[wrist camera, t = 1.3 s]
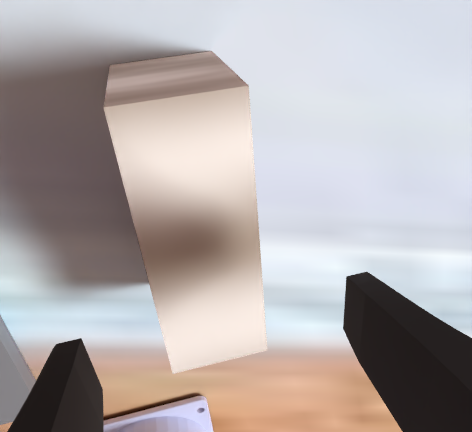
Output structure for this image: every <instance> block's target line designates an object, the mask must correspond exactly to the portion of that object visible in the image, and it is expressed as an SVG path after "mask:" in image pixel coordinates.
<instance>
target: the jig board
mask: <svg viewBox="0 0 472 432" xmlns="http://www.w3.org/2000/svg"><path fill="white" fill-rule="evenodd" d="M35 382H36V380H35V378H34V376H33V375H32V373H31V371H30V369H29V367H28V365H27V364H26V362H25V360H24V358H23V356H22V354H21V353H20V351H19V349H18V347H17V345H16V343H15V342H14V340H13V338H12V336H11V334H10V332H9V331H8V329H7V327H6V325H5V323H4V321H3V320H2V318H1V316H0V425H2V424H6V423H9V422H13V421H14V420H15V418H16V416H17V414H18V413H19V411H20V409H21V407H22V406H23V404H24V402H25V400H26V399H27V397H28V395H29V393H30V391H31V390H32V388H33V386H34V384H35Z"/></svg>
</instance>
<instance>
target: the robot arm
mask: <svg viewBox="0 0 472 432" xmlns="http://www.w3.org/2000/svg"><path fill="white" fill-rule="evenodd" d="M343 329H344V331H345V333H346V336H347V338H348V340H349V342H350V344H351V347H352V349H353V351H354V353H355V355H356V357H357V359H358V361H359V363H360V364H361V366H362V368H363V369H364V371H365V372H366V374H367V376H368V377H369V379H370V380H371V382H372V384H373V385H374V387H375V389H376V390H377V392H378V393H379V395H380V396H381V398H382V400H383V401H384V403H385V404H386V406H387V408H388V409H389V411H390V412H391V414H392V415H393V417H394V419H395V420H396V422H397V423H398V425H399V427H400V428H401V430H402V431H403V432H472V338H470V337H469V336H467V335H465V334H463V333H462V332H460V331H458V330H456V329H455V328H453V327H451V326H450V325H448V324H446V323H445V322H443V321H441V320H440V319H438V318H436V317H435V316H433V315H432V314H430V313H428V312H427V311H425V310H424V309H422V308H421V307H419V306H418V305H416V304H415V303H413V302H411V301H410V300H408V299H407V298H405V297H404V296H402V295H401V294H399V293H398V292H396V291H395V290H394V289H392V288H391V287H389V286H388V285H386V284H385V283H383V282H382V281H380V280H379V279H377V278H376V277H374V276H373V275H371V274H370V273H368V272H364V273H360V274H355V275H351V276H347V278H346V293H345V309H344V325H343ZM8 432H213V427H212V423H211V418H210V413H209V408H208V404H207V399H206V397H204V396H196V397H192V398H188V399H185V400H181V401H177V402H173V403H169V404H166V405H162V406H158V407H154V408H150V409H146V410H143V411H139V412H135V413H131V414H127V415H124V416H120V417H116V418H112V419H108V420H105V421H103V389H102V387H101V384H100V382H99V380H98V377H97V375H96V372H95V370H94V368H93V365H92V363H91V360H90V358H89V356H88V353H87V351H86V349H85V346H84V344H83V341H82V339H76V340H72V341H68V342H63V343H59V344H56V345H55V347H54V348H53V350H52V352H51V354H50V356H49V358H48V359H47V361H46V363H45V365H44V367H43V369H42V371H41V373H40V375H39V377H38V378H37V380H36V382H35V384H34V386H33V388H32V390H31V391H30V393H29V395H28V397H27V399H26V400H25V402H24V404H23V406H22V407H21V409H20V411H19V413H18V414H17V416H16V418H15V420H14V421H13V423H12V425H11V427H10V428H9V430H8Z"/></svg>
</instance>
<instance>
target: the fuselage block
mask: <svg viewBox="0 0 472 432" xmlns="http://www.w3.org/2000/svg"><path fill="white" fill-rule="evenodd" d="M103 108H104V112H105V115H106V119H107V123H108V127H109V131H110V135H111V139H112V142H113V146H114V150H115V154H116V158H117V162H118V165H119V169H120V173H121V177H122V181H123V185H124V188H125V192H126V196H127V200H128V204H129V208H130V211H131V215H132V219H133V223H134V227H135V231H136V234H137V238H138V242H139V246H140V250H141V254H142V258H143V261H144V265H145V269H146V273H147V277H148V281H149V284H150V288H151V292H152V296H153V300H154V304H155V307H156V311H157V315H158V319H159V323H160V327H161V330H162V334H163V338H164V342H165V346H166V350H167V353H168V357H169V361H170V365H171V369H172V373H173V374H174V373H178V372H182V371H186V370H190V369H194V368H198V367H202V366H206V365H210V364H214V363H218V362H222V361H226V360H230V359H234V358H238V357H242V356H246V355H250V354H254V353H258V352H262V351H266V350H267V339H266V325H265V311H264V297H263V283H262V268H261V254H260V240H259V226H258V212H257V198H256V184H255V170H254V155H253V141H252V127H251V113H250V99H249V86H248V85H247V84H246V83H245V82H244V81H243V80H242V79H241V78H240V77H239V76H238V75H237V74H236V73H235V72H234V71H232V70H231V69H230V68H229V67H228V66H227V65H226V64H225V63H224V62H223V61H222V60H221V59H220V58H219V57H218V56H216V55H215V54H214V53H213V52H212V51H208V52H201V53H194V54H186V55H179V56H172V57H164V58H157V59H150V60H142V61H135V62H128V63H120V64H113V65H110V68H109V75H108V81H107V88H106V94H105V101H104V107H103Z"/></svg>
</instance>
